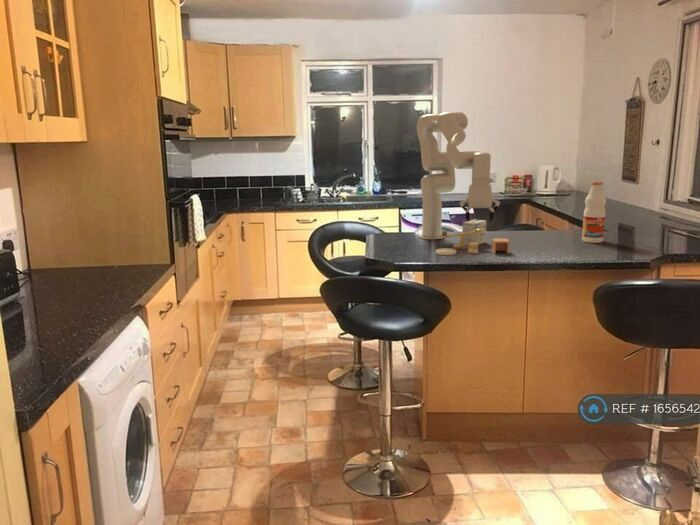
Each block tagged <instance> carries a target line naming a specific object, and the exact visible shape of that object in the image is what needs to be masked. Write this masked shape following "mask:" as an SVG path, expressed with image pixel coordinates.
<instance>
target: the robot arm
mask: <svg viewBox="0 0 700 525" xmlns="http://www.w3.org/2000/svg"><path fill="white" fill-rule="evenodd" d="M468 122H469V119H468V117H467V115H466V114H465V113H463V111H462V112H461V111H455V112H454V111H453V112H452V111H447V112H443V113H440V114H438V113H431V114H424V115H422V116H420V117H419V119H418V120H417V122H416V132H417V133H416V134H417V138H418V140H419V145H420V156H421V166H422V169H423V170H424V171H426V172H441V173H429V174H426V175H423V177H422V178H421V179H420V189H421V196H422V197H421V198H422V221H421V222H422V225H421V226H422V227H421V229H422V233H420V234H419V236H418V237H419V238H420V239H421V240H422V239H424V240H441V239H445V238H444V237H440V235H442V226H443V225H442V221H443V220H442V218H443V216H442V215H443V201H442V199H441V197H440V196H439V194H443V193H444V194H445V193H451V192H453V191H454V190H455V188H456V170H455V169H457V170H472V171H471V184H469V187H468V193H467V194H468V195H467V198H464V199H462V200H461V201H459V205H460V206H461V208H462V209H463V211H464V212H465V220H466V222H467V221H468V222H469V221H471V220H470V215H471V214H470V211H471V209H488V210H489V211H488V221H490V222H493V220H494V212H495V211H496V210H497V209H498V208H499V206H500V205H501V202H500V201H499V200H497V199H495V198H493V193H492V192H493V191H492V184H491V183H493V182H494V179H493V178H491V154H490V153H489V152H481V151H479V150H478V151H477V150H476V151H474V150H473V151H471V150H470V151H459V150H460V149H458V146H460V145H461V144H462V143H463V142H464V141H465V139H466V137H467V136H466V132H465V131H464V130H466V129H467V127H468V125H469V124H468ZM433 133H442V135H443V137H444V138H445V139H446V141H447V144H446V150H441V151H440V150H439V143H438V140H437V138H436V136H435V135H434V134H433ZM466 203H467V207H466V206H465V204H466ZM493 203H495V205H494V206H493V207H492V205H493Z"/></svg>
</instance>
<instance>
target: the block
mask: <svg viewBox="0 0 700 525" xmlns="http://www.w3.org/2000/svg"><path fill="white" fill-rule="evenodd" d="M467 253H468V254H479V244H478V243H468V249H467Z"/></svg>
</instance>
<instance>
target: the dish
mask: <svg viewBox="0 0 700 525" xmlns="http://www.w3.org/2000/svg"><path fill="white" fill-rule="evenodd" d="M435 254H436V255H439V256H440V255H441V256H454V255H457V249H454V248H447V247H444V248H443V247H442V248H437V249H435Z"/></svg>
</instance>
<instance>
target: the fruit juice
mask: <svg viewBox="0 0 700 525" xmlns="http://www.w3.org/2000/svg"><path fill="white" fill-rule="evenodd" d="M590 184H591V187H590V190H589V193H588V194H587V196H586V197H585V200H584V204H585V208H584V210H583V220H582V233H581V241H582V242H584V243H591V244H592V243H593V244H598V243H602V242H603V241H604V238H605V237H604V235H605V226H606V225H605V223H606V208H605V207H606V204H607V198H606V196H605V195H604V194H605V193H604V190H603V187H602V186H603V184H604V183H603V181H591V183H590Z"/></svg>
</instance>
